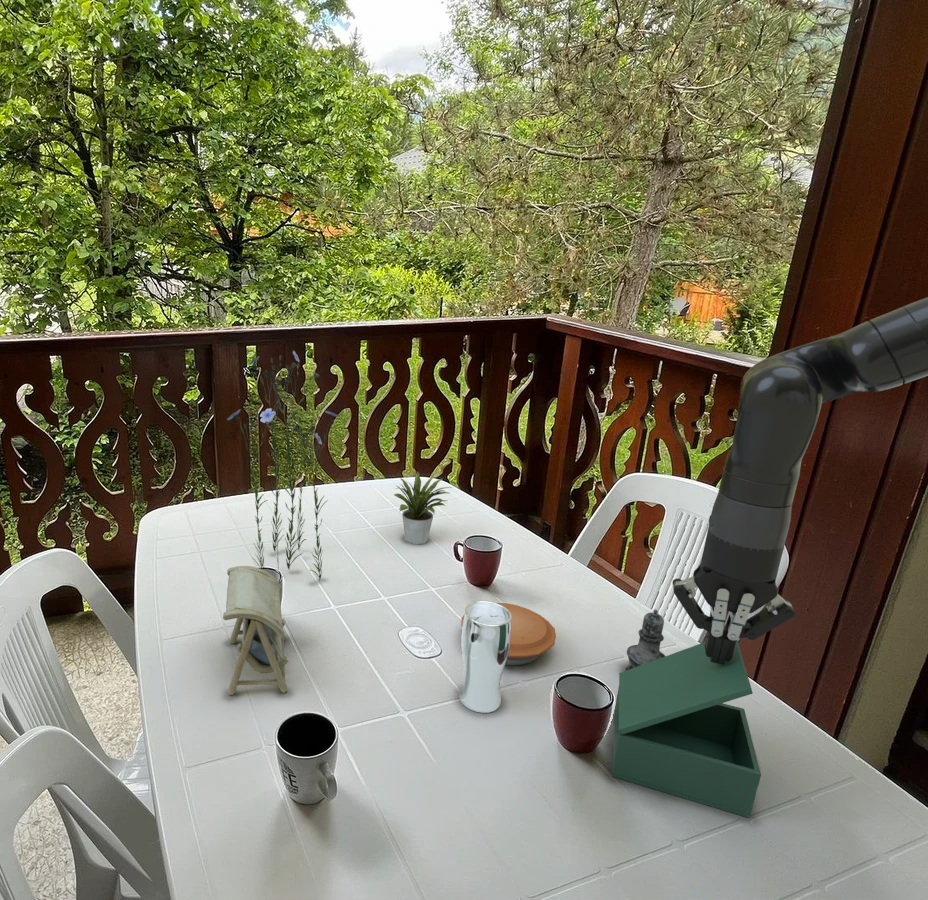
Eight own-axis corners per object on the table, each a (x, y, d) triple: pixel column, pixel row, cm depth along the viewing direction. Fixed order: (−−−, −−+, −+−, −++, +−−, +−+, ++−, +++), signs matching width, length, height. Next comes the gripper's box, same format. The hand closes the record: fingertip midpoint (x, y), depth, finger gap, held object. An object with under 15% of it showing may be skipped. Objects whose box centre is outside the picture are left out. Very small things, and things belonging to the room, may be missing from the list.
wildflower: (327, 601, 122) (329, 369, 108) (216, 586, 127) (204, 362, 113) (351, 549, 143) (355, 349, 129) (254, 538, 148) (248, 344, 134)
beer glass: (447, 698, 96) (453, 611, 92) (474, 678, 101) (481, 594, 96) (485, 722, 91) (495, 632, 87) (512, 700, 96) (522, 613, 91)
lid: (736, 636, 83) (733, 631, 83) (753, 693, 72) (749, 688, 72) (622, 677, 91) (618, 673, 91) (621, 734, 80) (618, 729, 80)
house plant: (422, 562, 137) (426, 492, 132) (372, 542, 146) (374, 475, 141) (457, 540, 147) (462, 474, 142) (409, 523, 156) (412, 460, 151)
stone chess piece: (615, 667, 103) (626, 603, 100) (642, 660, 105) (654, 596, 102) (644, 690, 98) (657, 623, 94) (672, 681, 100) (686, 615, 96)
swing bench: (289, 694, 97) (287, 609, 92) (225, 698, 96) (221, 612, 91) (285, 637, 111) (284, 561, 106) (230, 640, 110) (226, 563, 105)
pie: (466, 613, 118) (468, 589, 117) (553, 629, 113) (557, 605, 112) (453, 662, 104) (455, 636, 103) (552, 683, 100) (556, 656, 98)
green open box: (734, 748, 87) (744, 708, 85) (749, 818, 76) (761, 774, 74) (613, 715, 93) (620, 678, 91) (612, 776, 82) (619, 735, 80)
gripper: (684, 534, 72) (658, 663, 78) (824, 557, 67) (786, 693, 73) (679, 510, 79) (655, 631, 84) (807, 530, 74) (773, 656, 79)
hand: (716, 659), depth 79 cm, fingers closed
